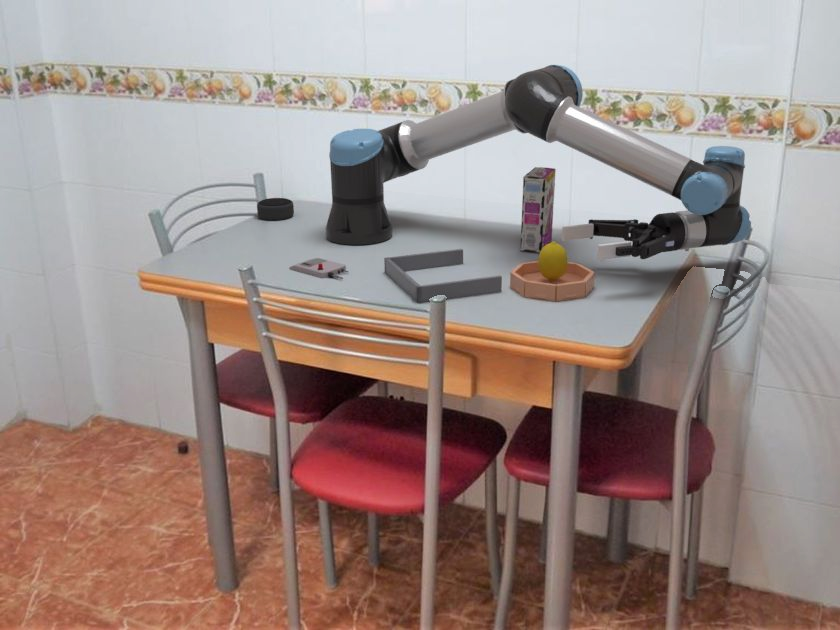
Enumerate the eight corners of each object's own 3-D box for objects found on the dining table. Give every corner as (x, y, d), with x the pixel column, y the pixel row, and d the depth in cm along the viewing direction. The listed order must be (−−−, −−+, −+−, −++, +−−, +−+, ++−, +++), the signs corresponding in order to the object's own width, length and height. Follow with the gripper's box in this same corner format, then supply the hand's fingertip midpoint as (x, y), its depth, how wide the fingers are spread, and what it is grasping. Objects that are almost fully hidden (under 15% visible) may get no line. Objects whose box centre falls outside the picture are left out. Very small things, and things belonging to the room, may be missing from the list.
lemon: (568, 286, 175) (570, 245, 172) (539, 286, 175) (540, 245, 172) (564, 277, 180) (566, 237, 177) (535, 277, 180) (537, 237, 177)
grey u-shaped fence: (384, 272, 187) (384, 257, 186) (461, 262, 193) (461, 248, 192) (417, 302, 170) (417, 287, 169) (501, 291, 175) (501, 276, 174)
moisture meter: (306, 262, 196) (305, 248, 195) (360, 276, 187) (360, 262, 186) (283, 269, 191) (282, 255, 190) (337, 284, 182) (337, 270, 181)
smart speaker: (264, 212, 234) (263, 196, 233) (298, 213, 233) (297, 197, 232) (252, 221, 226) (251, 205, 225) (288, 222, 225) (287, 206, 223)
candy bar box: (542, 254, 198) (545, 177, 192) (519, 251, 199) (521, 176, 194) (553, 240, 208) (556, 167, 202) (531, 238, 209) (533, 165, 203)
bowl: (499, 280, 182) (499, 265, 181) (567, 271, 186) (568, 256, 185) (534, 304, 169) (534, 289, 167) (606, 294, 173) (607, 279, 172)
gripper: (713, 267, 172) (613, 281, 166) (639, 233, 194) (548, 244, 188) (717, 228, 170) (616, 240, 163) (642, 198, 192) (550, 208, 185)
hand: (579, 242), depth 175 cm, fingers open, 13 cm apart
